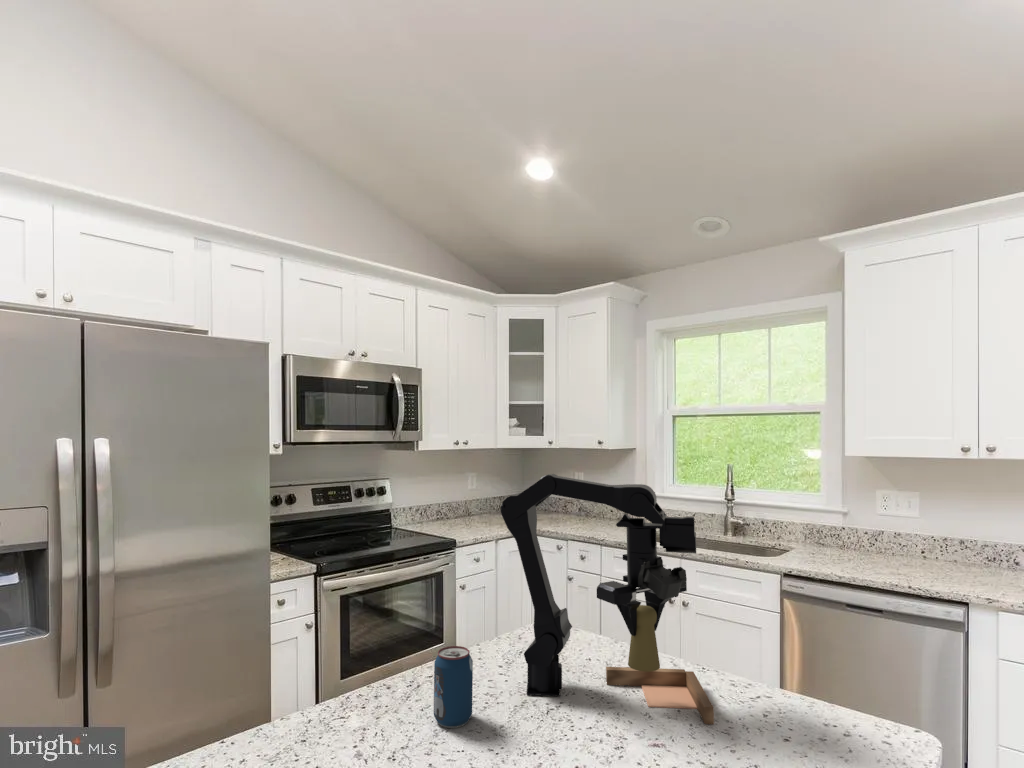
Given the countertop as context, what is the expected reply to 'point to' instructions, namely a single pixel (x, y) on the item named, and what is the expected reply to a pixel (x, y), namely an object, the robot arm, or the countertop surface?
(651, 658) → the olive pepper mill
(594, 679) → the countertop surface
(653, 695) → the corner arena
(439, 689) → the soda can
